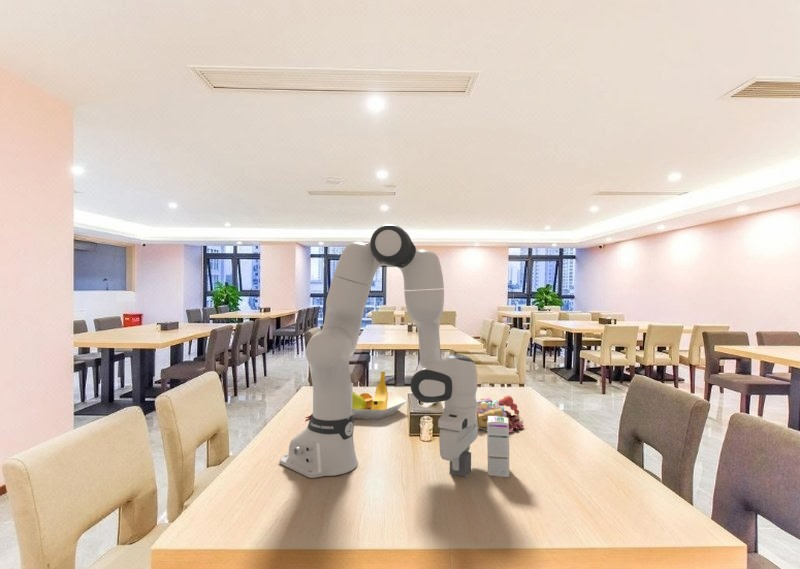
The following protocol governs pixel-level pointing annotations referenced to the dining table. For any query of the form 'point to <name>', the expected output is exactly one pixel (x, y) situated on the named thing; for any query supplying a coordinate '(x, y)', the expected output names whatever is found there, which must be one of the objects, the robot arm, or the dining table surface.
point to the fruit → (375, 402)
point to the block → (463, 465)
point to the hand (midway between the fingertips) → (460, 465)
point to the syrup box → (498, 446)
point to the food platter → (498, 412)
